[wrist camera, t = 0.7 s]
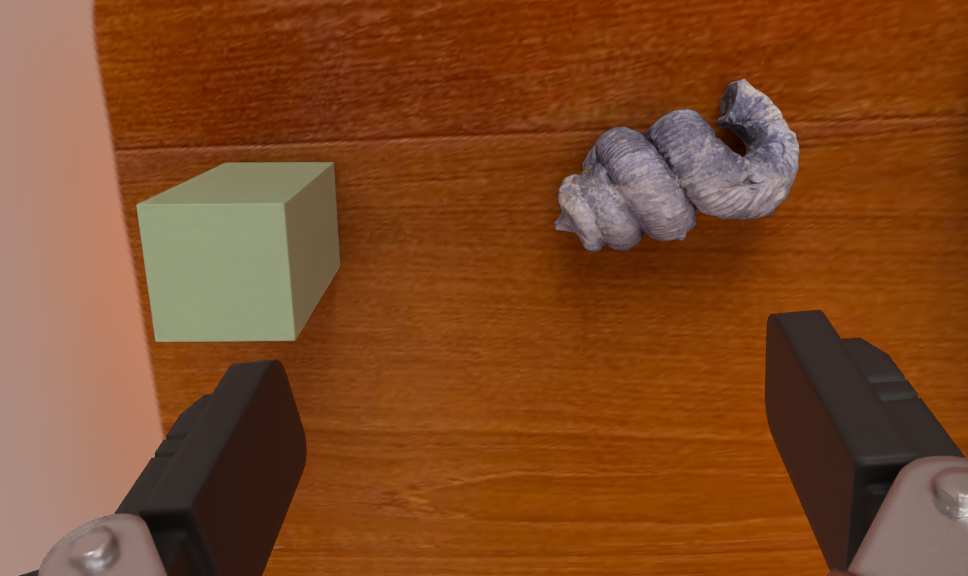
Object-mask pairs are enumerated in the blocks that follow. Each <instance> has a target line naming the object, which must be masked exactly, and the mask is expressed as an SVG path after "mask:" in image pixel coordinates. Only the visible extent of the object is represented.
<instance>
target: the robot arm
mask: <svg viewBox="0 0 968 576" xmlns="http://www.w3.org/2000/svg"><path fill="white" fill-rule="evenodd" d="M765 405H766V413H767V419H768V424H769V428H770V431H771V434H772V437H773V439H774V441H775V444H776V446H777V448H778V451H779V453H780V455H781V458H782V460H783V462H784V465H785V467H786V469H787V472H788V474H789V476H790V479H791V481H792V483H793V486H794V488H795V490H796V493H797V495H798V497H799V500H800V502H801V504H802V507H803V509H804V511H805V514H806V516H807V518H808V521H809V523H810V525H811V528H812V530H813V532H814V535H815V537H816V539H817V542H818V544H819V546H820V549H821V551H822V553H823V556H824V558H825V560H826V563H827V565H828V567H829V570H830V572H829V573H828V575H827V576H968V459H967V458H965V456H964V455H963V454H962V452H961V451H960V450H959V448H958V447H957V446H956V444H955V443H954V442H953V440H952V439H951V438H950V436H949V435H948V434H947V432H946V431H945V430H944V428H943V427H942V426H941V424H940V423H939V422H938V420H937V419H936V418H935V416H934V415H933V414H932V412H931V411H930V410H929V408H928V407H927V406H926V404H925V403H924V402H923V400H922V399H921V398H918V394H917V392H916V391H915V390H914V388H913V387H912V386H911V384H910V383H909V382H908V380H906V381H905V378H904V375H903V374H902V372H901V371H900V370H899V368H898V367H897V366H896V364H895V363H894V362H893V360H892V359H891V358H890V356H889V355H888V354H886V353H885V352H883V351H881V350H880V349H878V348H876V347H875V346H873V345H872V344H870V343H868V342H867V341H865V340H863V339H862V338H852V339H841V338H840V337H839V335H838V334H837V332H836V331H835V329H834V328H833V326H832V325H831V323H830V322H829V320H828V319H827V317H826V316H825V314H824V313H823V312H822V311H821V310H810V311H800V312H789V313H778V314H771V315H770V316H769V318H768V321H767V336H766V376H765ZM166 437H167V439H166V440H163V442H162V443H161V445H160V446H159V448H158V449H157V451H156V452H155V458H151V460H150V461H149V463H148V464H147V466H146V467H145V469H144V470H143V472H142V473H141V475H140V476H139V478H138V479H137V481H136V482H135V484H134V485H133V487H132V488H131V490H130V491H129V493H128V494H127V496H126V497H125V499H124V500H123V502H122V503H121V505H120V506H119V508H118V509H117V511H116V512H115V514H113V515H109V516H105V517H101V518H98V519H95V520H93V521H90V522H88V523H86V524H84V525H82V526H80V527H78V528H77V529H75V530H73V531H72V532H70V533H69V534H67V535H66V536H65V537H63V538H62V539H61V540H60V541H59V542H58V543H57V544H56V545H54V546H53V548H52V549H51V550H50V551H49V552H48V553H47V555H46V557H45V558H44V559H43V562H42V564H41V566H40V569H39V570H36V571H33V572H30V573H27V574H23V575H20V576H262V574H263V572H264V569H265V567H266V564H267V562H268V559H269V557H270V554H271V552H272V549H273V546H274V544H275V541H276V539H277V536H278V534H279V531H280V529H281V526H282V524H283V521H284V519H285V516H286V513H287V511H288V508H289V506H290V503H291V501H292V498H293V496H294V493H295V491H296V488H297V486H298V483H299V481H300V478H301V475H302V473H303V470H304V467H305V463H306V449H307V448H306V438H305V433H304V429H303V426H302V423H301V419H300V416H299V413H298V410H297V407H296V403H295V400H294V397H293V394H292V391H291V387H290V384H289V381H288V378H287V375H286V372H285V369H284V367H283V365H282V364H281V362H280V361H278V360H264V361H254V362H243V363H234V364H232V365H231V366H230V367H229V368H228V370H227V372H226V373H225V375H224V376H223V378H222V380H221V381H220V383H219V384H218V386H217V387H216V389H215V391H214V392H213V394H209V395H204V396H203V397H201V398H200V399H199V400H198V401H196V402H195V403H194V404H193V405H192V406H190V407H189V408H188V409H187V410H185V411H184V412H183V413H182V414H181V415H180V416H179V418H178V419H177V421H176V422H175V424H174V425H173V427H172V428H171V430H170V431H169V433H168V434H167V436H166Z"/></svg>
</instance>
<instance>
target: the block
mask: <svg viewBox="0 0 968 576" xmlns="http://www.w3.org/2000/svg"><path fill="white" fill-rule="evenodd" d="M136 207H137V214H138V221H139V228H140V235H141V242H142V249H143V257H144V264H145V271H146V278H147V285H148V292H149V299H150V306H151V314H152V321H153V328H154V335H155V341H156V342H225V341H295V340H296V339H297V337H298V335H299V334H300V332H301V330H302V329H303V327H304V325H305V324H306V322H307V321H308V319H309V317H310V316H311V314H312V312H313V311H314V309H315V307H316V306H317V304H318V302H319V301H320V299H321V297H322V296H323V294H324V292H325V291H326V289H327V287H328V286H329V284H330V283H331V281H332V279H333V278H334V276H335V274H336V273H337V271H338V269H339V268H340V252H339V236H338V220H337V204H336V187H335V171H334V162H240V163H224V164H221V165H219V166H217V167H215V168H213V169H211V170H209V171H207V172H204V173H202V174H200V175H198V176H196V177H194V178H192V179H190V180H187V181H185V182H183V183H181V184H179V185H177V186H175V187H173V188H170V189H168V190H166V191H164V192H162V193H160V194H158V195H156V196H153V197H151V198H149V199H147V200H145V201H143V202H141V203H139V204H137V205H136Z"/></svg>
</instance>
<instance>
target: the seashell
mask: <svg viewBox="0 0 968 576" xmlns="http://www.w3.org/2000/svg"><path fill="white" fill-rule="evenodd" d="M719 109H720V111H721V117H720V118H719V119H718V128H728V127H730V128H729V129H730V130H731V131H732V132H733V133H734V134H735V135H736V136H737V137H738V138H739V139H740V140H742V141H743V142H744V144H745V146H746V150H747V151H746V155H745V157H741V156H740V154H737V153H734V152H733V151H732V150H731V149H730V148H729V147H728V146H727V145H725V144H724V143H723V142H722V141H721V140H720V139H719V138H716V137H715V131H714V129H713V128H712V127H711V126H710V125H709V124H708V123H707V122H706V121H705V120H704V119H703V118H702V116H701V115H700V114H698V113H697V112H696V111H695V110H689V109H683V110H676V111H672V112H669V113H668V114H667V115H665V116H664V115H663V116H662V117H661V118H660V119H659V120H658V121H656V122H655V124H654V125H652V126H651V127H650V128H649V129H648V130H647V131H646V133H645V135H644V136H643V135H642V134H641V133H639V132H638V131H636V130H633V129H629V128H628V127H614V128H612V129H610V130H608V131H607V132H605V133H603V134H601V136H600V137H599V138H598V140H596V143H595V145H594V147H593V148H592V149H591V150H590V151H589V152H588V155H587V157H586V159H585V160H584V162H583V164H582V166H583V169H582V171H583V173H582V174H581V175H576V174H573V175H570V176H568V177H565V179H564V180H563V182H562V184H561V187H560V189H559V191H558V203H559V205H560V207H561V213H560V216H559V219H558V220H557V221H555V222H554V225H555V229H556V230H563V231H569V232H573V233H576V234H577V235H578V236H579V238H580V241H581V243H582V245H583V247H585V248H586V249H587V250H589V251H592V252H596V251H599V250H601V248H602V247H603V245H604V244H605V243H606V244H607V246H609V247H611V248H613V249H615V250H629V249H631V248H633V247H634V246H635V245H637V244H638V243H639V242H640V240H641V238H642V235H643V233H645V234H647V235H648V236H650V237H651V238H654V239H656V240H658V241H660V242H661V241H667V240H676V239H680V240H683V239H684V238H685V237H686V235H687V233H688V232H689V230H690V229H692V228H694V226H695V224H696V216H697V211H698V210H699V211H700V212H701V213H704V214H707V215H714V216H716V217H718V218H721V219H729V218H730V219H737V220H746V218H749V219H755V218H758V217H762V216H769V215H771V214H774V209H775V208H776V207H777V206H779V205H780V203H781V202H782V201H784V200H786V199H787V194H788V193H789V192H790V189H791V186H792V183H793V181H794V180H795V177H796V173H797V172H799V166H798V157H799V151H800V150H799V144H798V141H797V139H796V134H795V133H794V132H793V131H790V129H789V127H788V125H787V123H786V122H785V120H784V118H783V115H782V113H781V112H780V110H779V109H778V108H777V107H776V106H775V105H774V104H773V102H772V101H771V100H770V99H769V98H768V97H767V96H766V95H765V94H764V93H762V92H761V91H759V90H757V89H754V88H753V87H752V86H751V84H750V83H749V82H748V81H747V80H746V79H742V80H738V81H735V82H733V83H730V84H728V86H727V89H726V92H725V94H724V95H723V97H722V99H721V101H720V103H719Z"/></svg>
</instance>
